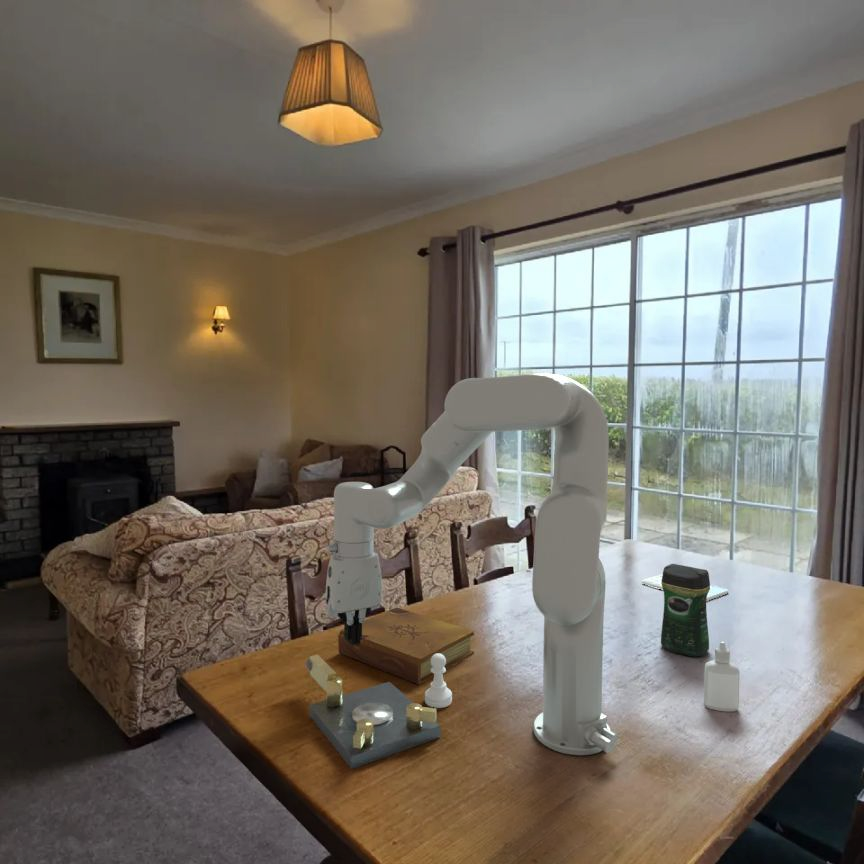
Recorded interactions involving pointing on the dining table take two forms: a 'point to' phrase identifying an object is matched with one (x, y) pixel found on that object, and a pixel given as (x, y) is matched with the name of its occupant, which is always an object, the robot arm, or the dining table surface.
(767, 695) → the dining table surface
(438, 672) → the chess pawn
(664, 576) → the coffee jar
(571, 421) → the robot arm
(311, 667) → the brass lever
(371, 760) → the levelling plate
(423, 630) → the diary
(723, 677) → the eye dropper bottle
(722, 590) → the calculator
